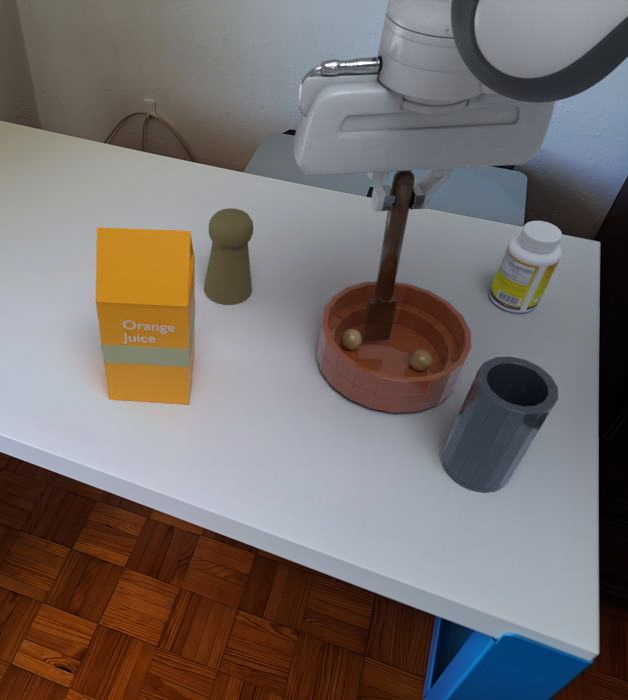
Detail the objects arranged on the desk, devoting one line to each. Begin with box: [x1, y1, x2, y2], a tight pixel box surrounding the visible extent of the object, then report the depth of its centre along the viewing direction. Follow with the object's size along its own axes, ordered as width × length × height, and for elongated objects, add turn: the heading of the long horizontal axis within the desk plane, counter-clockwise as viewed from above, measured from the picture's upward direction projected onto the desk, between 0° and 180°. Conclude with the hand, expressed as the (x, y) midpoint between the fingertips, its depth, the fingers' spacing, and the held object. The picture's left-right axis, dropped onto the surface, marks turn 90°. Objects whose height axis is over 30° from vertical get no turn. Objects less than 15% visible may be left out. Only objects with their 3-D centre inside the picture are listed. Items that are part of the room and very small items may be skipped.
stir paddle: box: [363, 170, 416, 342], centre depth 68 cm, size 3×2×22 cm, turn 90°
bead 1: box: [341, 329, 363, 350], centre depth 77 cm, size 2×2×2 cm
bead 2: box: [409, 349, 432, 371], centre depth 74 cm, size 2×2×2 cm
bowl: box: [315, 280, 472, 414], centre depth 74 cm, size 15×15×6 cm
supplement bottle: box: [489, 220, 563, 314], centre depth 79 cm, size 6×6×10 cm
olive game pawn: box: [203, 207, 254, 306], centre depth 82 cm, size 6×6×11 cm
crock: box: [441, 356, 559, 493], centre depth 63 cm, size 6×6×12 cm
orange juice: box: [95, 226, 196, 406], centre depth 69 cm, size 8×9×20 cm
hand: (398, 206), depth 62 cm, fingers closed on stir paddle, 2 cm apart
